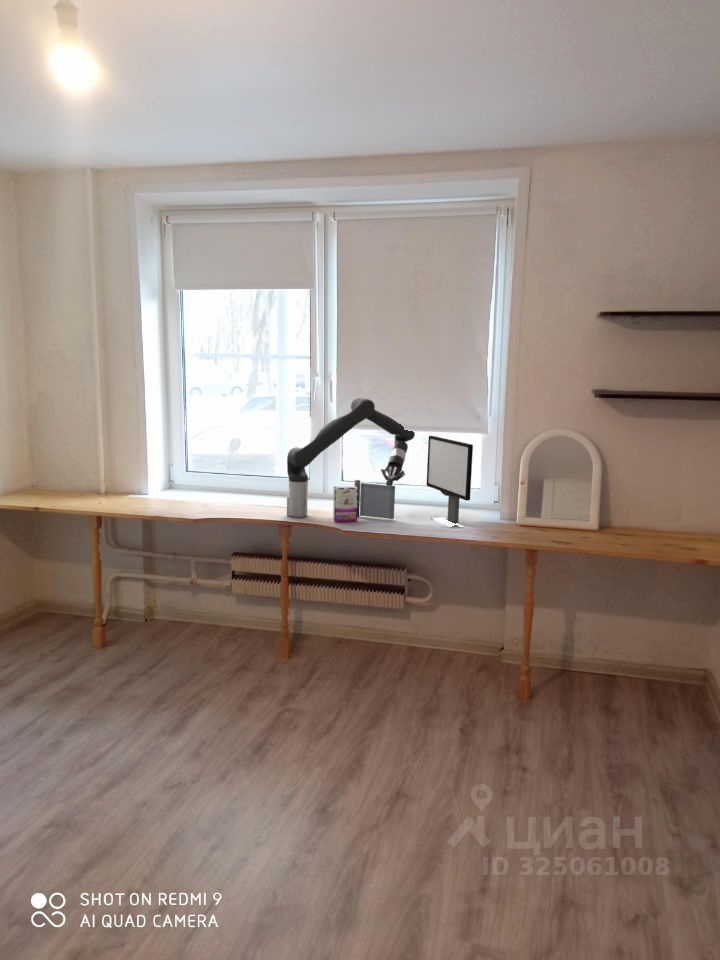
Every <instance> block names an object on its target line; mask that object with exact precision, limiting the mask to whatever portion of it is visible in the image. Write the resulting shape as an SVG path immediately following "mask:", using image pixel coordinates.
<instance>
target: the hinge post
mask: <svg viewBox="0 0 720 960" xmlns="http://www.w3.org/2000/svg"><path fill="white" fill-rule="evenodd" d="M355 486H356V487H357V488H358V508H357V518H360V491H361V480H360V479H353V487H355Z"/></svg>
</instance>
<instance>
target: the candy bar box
mask: <svg viewBox="0 0 720 960" xmlns="http://www.w3.org/2000/svg"><path fill="white" fill-rule="evenodd" d="M332 507H333V508H332V509H333V510H332V511H333V515H332V516H333V517H332V520H333V521H334V523H348V522H349V523H352V522H353V523H355V522H358V517H357V508H358V488H357V487H356V486H355V487H354V486H333V506H332Z"/></svg>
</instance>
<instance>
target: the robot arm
mask: <svg viewBox="0 0 720 960" xmlns="http://www.w3.org/2000/svg"><path fill="white" fill-rule="evenodd" d="M350 409H351V411H350V412H348V413H346V414H344V415H342V416H339V417H337V418H334V419H333V420H331V421H329V422H328V423H326V424H325V425H324V426H323V427H322V428H321V429H320V430H319V431H318V432H317V435H315V437H314V439H313V440H312V441H311V442H309V443H308V444H307V445H305V446H303V447H298V446H297V447H296V446H295V447H293V448H291V449H289V451H288V453H287V458H286V459H287V460H286V464H287V465H286V467H287V469H286V470H287V476H288V495H287V496H286V516H287V515H289V517H291V516H293V517H292V518H305V517H307V516H308V500H309V499H308V498H309V497H308V496H309V495H308V492H309V491H308V489H309V487H308V486H309V476H308V473H307V471H306V467H308V466H309V465H310V464H311V463H312V462H313V461H314V460H315V459H316V458H317V457H318V456H319V455H320V454H321V453H323V452H324V451H325V450H327V449H328V448H329V447H330V446H331V445H333V444H334V443H335V442H337V441H338V440H340V439H341V438H342V437H343V436H344V435H345V434H346V433H348V432H349V431H350V430H352V429H353V428H354V427H355V426H357V425H359V424H360V423H361V422H363V421H364V420H368V421H370V422H371V423H373V424H375V425H377V426H378V427H379V428H380V429H382V430H384V431H385V432H387V433H389V434H390V435H393V436H394V446H393V449H392V452H391V454H390V456H389V459H388V464H387V466H386V467H385V468H382V469H380V471H381V472H380V473H381V474H382V476H383V477H384V479H385V481H386V483H385V485H390V486H393V484H394V482H398V481H399V480H400V479H401V478H403V477H405V476H406V474H405V471H404V470H403V466H404V463H405V460H406V455H407V453H408V452H407V451H408V448H409V447H408V446H409V445H408V444H407V442H409V441H412V440H413V439H414V438H415V431H414V432H413V431H408V430H404V427H403V426H402V425H401V424H402V423H401V424H399V423H400V422H398V421H397V420H394V419H393V418H392V417H390V416H388V415H386V414H385V413H382V412H380V411H378V410H376V407H375V403H374V401H373V400H371V399H369V398H365V397H356V398H354V399H353V400H352V401H351V403H350ZM386 473H387V474H386ZM304 516H305V517H304Z"/></svg>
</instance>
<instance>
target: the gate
mask: <svg viewBox="0 0 720 960" xmlns="http://www.w3.org/2000/svg"><path fill="white" fill-rule="evenodd" d="M395 497H396V485H392V486H390V485H386V484H377V483H376V484H375V483H365V482H360V508H359V517H368V518H378V519H386V520H387V519H389V520H394V519H395Z"/></svg>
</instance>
